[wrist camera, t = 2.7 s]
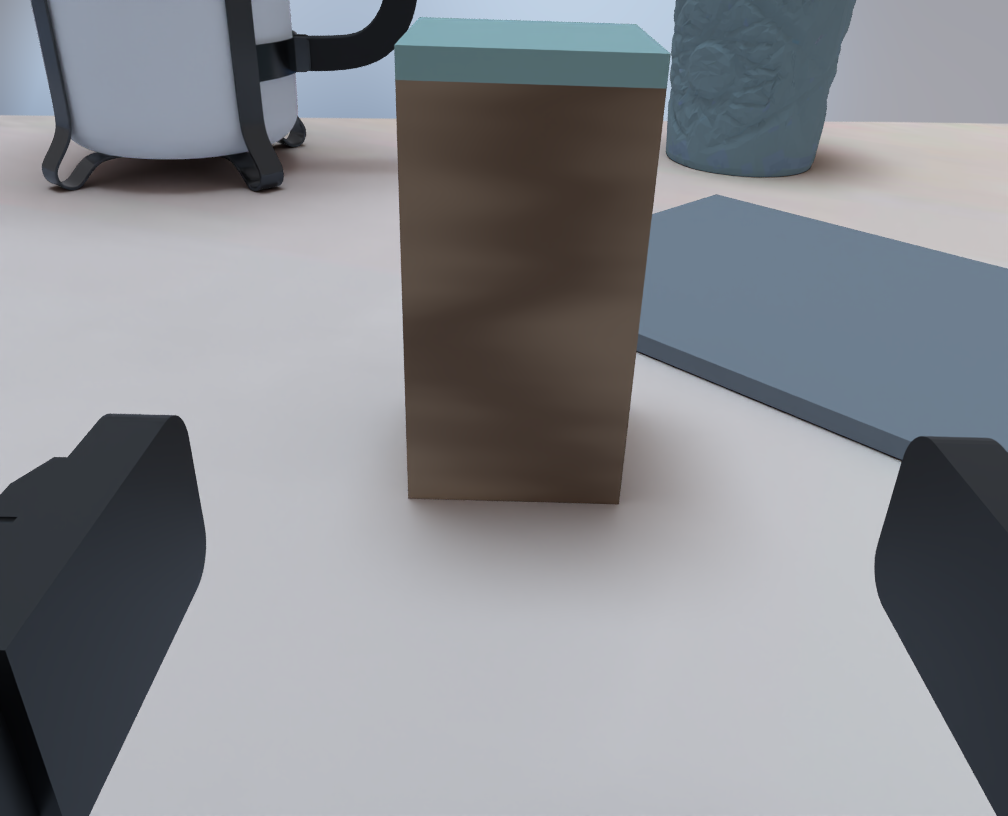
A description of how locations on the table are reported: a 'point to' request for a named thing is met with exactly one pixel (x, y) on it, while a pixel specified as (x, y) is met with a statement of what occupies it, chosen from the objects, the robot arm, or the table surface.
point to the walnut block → (523, 251)
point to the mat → (829, 322)
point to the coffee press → (189, 78)
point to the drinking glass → (752, 83)
